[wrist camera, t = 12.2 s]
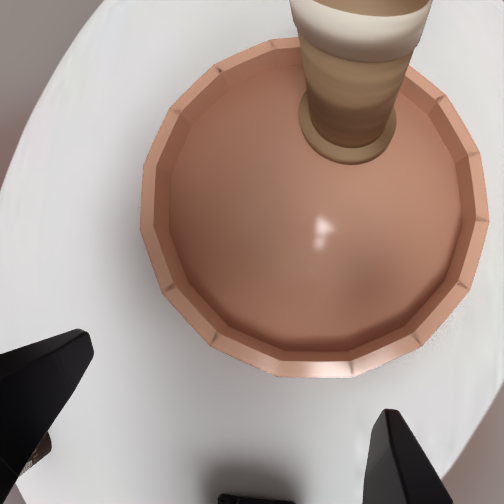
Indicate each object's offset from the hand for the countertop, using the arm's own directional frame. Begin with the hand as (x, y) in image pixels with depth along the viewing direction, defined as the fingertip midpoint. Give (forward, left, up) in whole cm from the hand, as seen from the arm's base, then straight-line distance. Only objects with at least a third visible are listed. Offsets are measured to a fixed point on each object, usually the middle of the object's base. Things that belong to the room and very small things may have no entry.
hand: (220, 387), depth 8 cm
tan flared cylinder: (+13, -5, -12) cm, 18 cm away
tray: (+8, -2, -13) cm, 15 cm away
